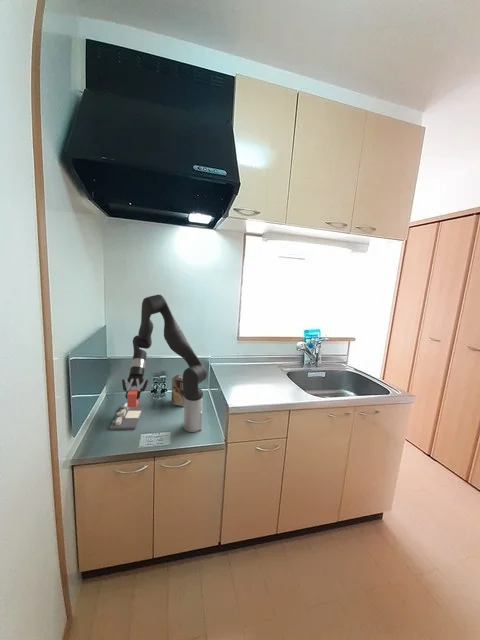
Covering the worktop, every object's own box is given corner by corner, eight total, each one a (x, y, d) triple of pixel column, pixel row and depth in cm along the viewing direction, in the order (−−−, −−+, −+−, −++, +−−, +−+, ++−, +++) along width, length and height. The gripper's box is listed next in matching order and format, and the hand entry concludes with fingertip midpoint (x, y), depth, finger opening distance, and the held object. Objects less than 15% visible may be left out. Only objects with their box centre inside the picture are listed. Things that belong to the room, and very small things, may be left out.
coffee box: (189, 402, 159) (190, 377, 156) (184, 407, 153) (185, 381, 150) (176, 398, 162) (177, 374, 159) (170, 403, 156) (171, 378, 153)
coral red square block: (138, 402, 142) (138, 390, 140) (136, 407, 138) (136, 394, 136) (129, 402, 141) (129, 390, 140) (127, 407, 137) (127, 394, 135)
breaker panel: (144, 405, 152) (144, 400, 151) (135, 429, 131) (135, 423, 130) (122, 406, 150) (122, 400, 149) (109, 429, 129) (109, 424, 128)
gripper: (122, 365, 142) (116, 397, 133) (150, 365, 145) (145, 397, 136) (125, 370, 149) (119, 401, 140) (151, 370, 151) (147, 401, 142)
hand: (132, 398), depth 138 cm, fingers closed on coral red square block, 4 cm apart
